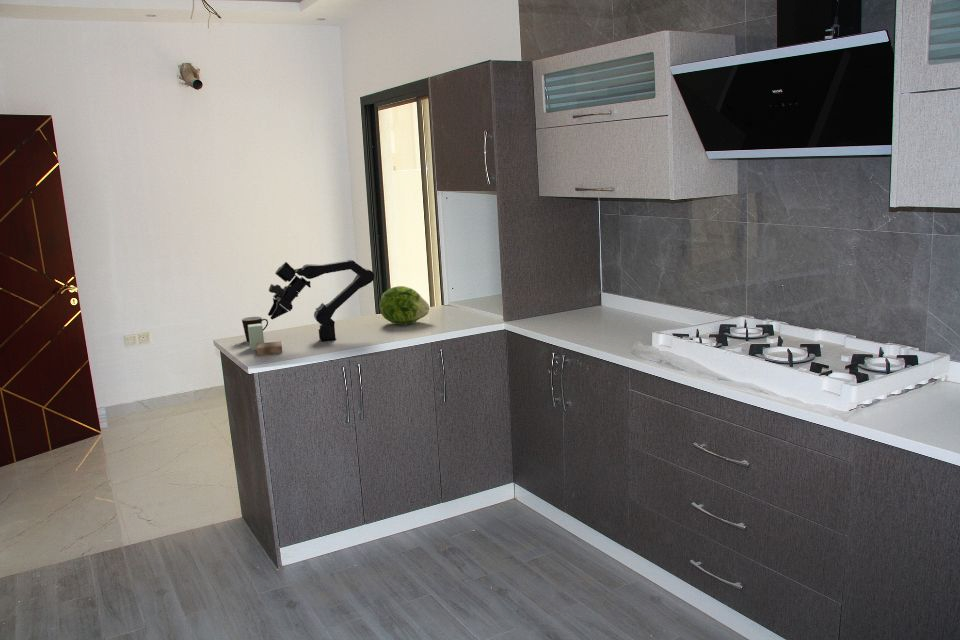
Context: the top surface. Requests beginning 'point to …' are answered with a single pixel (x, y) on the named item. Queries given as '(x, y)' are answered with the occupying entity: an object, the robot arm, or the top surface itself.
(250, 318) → the coffee mug
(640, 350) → the top surface
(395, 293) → the lettuce
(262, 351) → the walnut block
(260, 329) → the tea tin
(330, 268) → the robot arm
